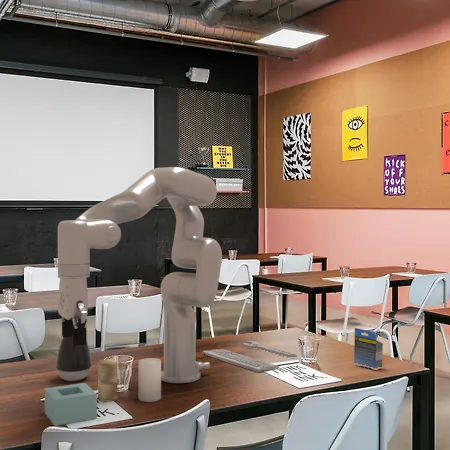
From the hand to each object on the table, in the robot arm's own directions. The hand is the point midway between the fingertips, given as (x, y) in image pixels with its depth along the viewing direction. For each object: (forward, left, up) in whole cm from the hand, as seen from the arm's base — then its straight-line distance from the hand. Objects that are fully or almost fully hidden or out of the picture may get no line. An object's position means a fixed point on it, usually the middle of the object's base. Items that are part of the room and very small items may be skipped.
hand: (73, 340), depth 140 cm
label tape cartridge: (-95, +3, -18) cm, 97 cm away
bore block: (+1, +1, -18) cm, 18 cm away
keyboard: (-63, -23, -19) cm, 69 cm away
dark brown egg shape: (-8, -29, -18) cm, 36 cm away
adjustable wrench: (-78, -30, -19) cm, 85 cm away
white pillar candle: (-21, -2, -18) cm, 28 cm away
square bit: (-11, -7, -18) cm, 22 cm away
